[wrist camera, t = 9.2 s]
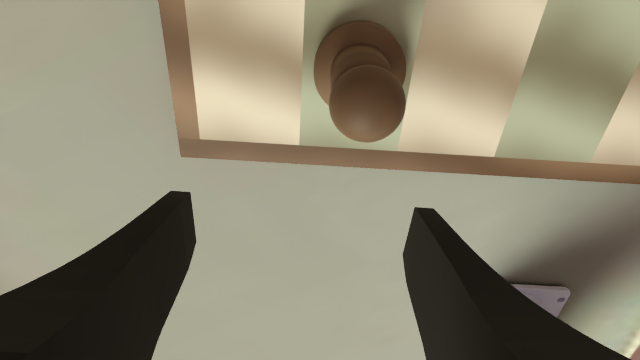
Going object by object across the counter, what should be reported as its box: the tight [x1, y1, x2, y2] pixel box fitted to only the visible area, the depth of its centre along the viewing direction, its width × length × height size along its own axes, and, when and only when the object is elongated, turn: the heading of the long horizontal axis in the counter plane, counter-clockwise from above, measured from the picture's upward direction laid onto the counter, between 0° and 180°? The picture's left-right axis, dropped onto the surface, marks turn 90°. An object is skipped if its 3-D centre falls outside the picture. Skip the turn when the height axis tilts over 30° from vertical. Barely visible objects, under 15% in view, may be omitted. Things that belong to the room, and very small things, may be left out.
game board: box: [158, 0, 640, 184], centre depth 20 cm, size 11×30×1 cm, turn 86°
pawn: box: [314, 20, 406, 143], centre depth 17 cm, size 4×4×6 cm
